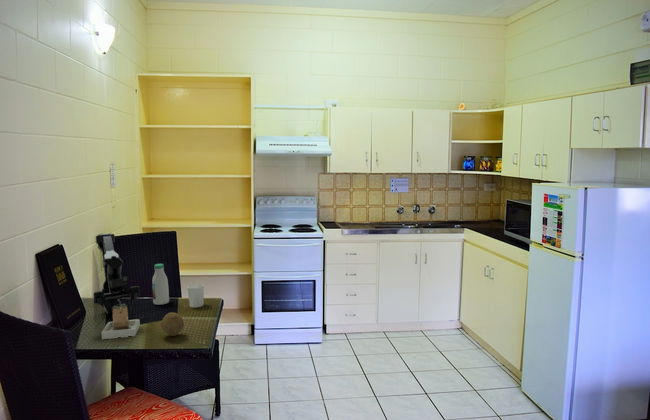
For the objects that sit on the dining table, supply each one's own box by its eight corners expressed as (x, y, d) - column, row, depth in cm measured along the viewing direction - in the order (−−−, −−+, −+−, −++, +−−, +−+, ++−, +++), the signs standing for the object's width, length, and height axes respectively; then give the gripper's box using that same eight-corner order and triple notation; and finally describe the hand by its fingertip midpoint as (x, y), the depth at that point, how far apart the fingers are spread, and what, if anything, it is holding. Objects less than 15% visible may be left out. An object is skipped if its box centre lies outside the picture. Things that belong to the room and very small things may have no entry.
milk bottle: (171, 300, 260) (169, 262, 257) (165, 305, 252) (163, 266, 250) (157, 300, 261) (154, 262, 258) (150, 305, 253) (148, 266, 251)
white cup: (207, 303, 253) (206, 284, 251) (199, 308, 245) (197, 288, 244) (194, 302, 255) (193, 283, 254) (185, 307, 248) (184, 287, 247)
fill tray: (102, 339, 207) (101, 332, 207) (108, 328, 220) (108, 321, 220) (135, 336, 210) (134, 329, 210) (139, 325, 223) (139, 319, 222)
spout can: (113, 328, 216) (111, 304, 215) (127, 326, 219) (126, 302, 218) (115, 334, 209) (113, 309, 208) (130, 331, 212) (128, 306, 211)
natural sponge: (156, 338, 207) (155, 315, 206) (170, 330, 215) (168, 308, 214) (175, 340, 204) (173, 317, 203) (188, 333, 212) (186, 310, 211)
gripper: (91, 274, 213) (96, 306, 205) (138, 268, 222) (143, 298, 214) (92, 287, 221) (96, 318, 213) (136, 281, 230) (142, 311, 222)
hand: (119, 311), depth 215 cm, fingers open, 9 cm apart
